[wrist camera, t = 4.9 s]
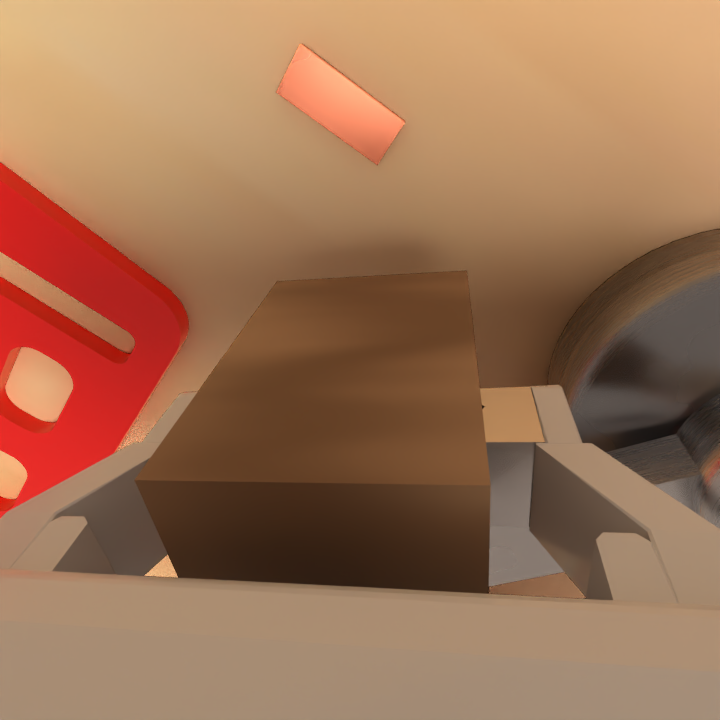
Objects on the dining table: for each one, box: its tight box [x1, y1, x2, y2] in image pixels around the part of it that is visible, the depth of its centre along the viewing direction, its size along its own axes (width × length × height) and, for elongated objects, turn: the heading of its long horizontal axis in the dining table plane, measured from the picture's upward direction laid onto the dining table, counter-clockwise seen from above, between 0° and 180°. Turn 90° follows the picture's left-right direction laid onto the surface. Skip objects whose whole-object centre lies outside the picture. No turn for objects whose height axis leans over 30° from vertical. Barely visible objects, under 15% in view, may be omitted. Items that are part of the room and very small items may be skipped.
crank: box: [489, 394, 720, 586], centre depth 11 cm, size 13×4×8 cm, turn 117°
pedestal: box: [276, 44, 720, 452], centre depth 13 cm, size 19×9×3 cm, turn 57°
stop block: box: [134, 271, 491, 594], centre depth 9 cm, size 4×4×6 cm
